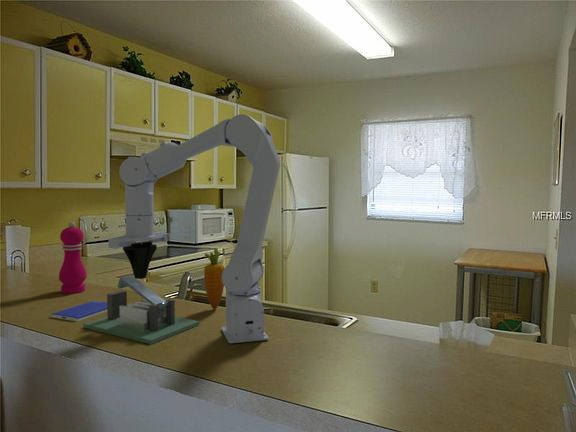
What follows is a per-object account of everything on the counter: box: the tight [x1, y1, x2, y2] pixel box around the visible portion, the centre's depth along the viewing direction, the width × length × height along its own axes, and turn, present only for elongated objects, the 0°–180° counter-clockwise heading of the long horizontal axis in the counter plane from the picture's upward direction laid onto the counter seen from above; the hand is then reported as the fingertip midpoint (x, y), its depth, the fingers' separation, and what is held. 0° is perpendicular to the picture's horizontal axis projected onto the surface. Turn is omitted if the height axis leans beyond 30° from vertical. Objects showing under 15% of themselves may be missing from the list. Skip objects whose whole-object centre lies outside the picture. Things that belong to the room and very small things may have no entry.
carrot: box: [203, 248, 225, 310], centre depth 110 cm, size 5×5×15 cm
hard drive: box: [50, 300, 107, 322], centre depth 107 cm, size 2×8×12 cm
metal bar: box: [117, 274, 170, 310], centre depth 96 cm, size 13×3×3 cm, turn 61°
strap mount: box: [106, 289, 176, 331], centre depth 97 cm, size 15×6×6 cm, turn 61°
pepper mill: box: [58, 221, 88, 295], centre depth 127 cm, size 7×7×20 cm
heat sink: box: [117, 298, 167, 332], centre depth 96 cm, size 8×8×4 cm
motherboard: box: [82, 316, 200, 345], centre depth 96 cm, size 20×14×1 cm
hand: (140, 278), depth 96 cm, fingers closed
